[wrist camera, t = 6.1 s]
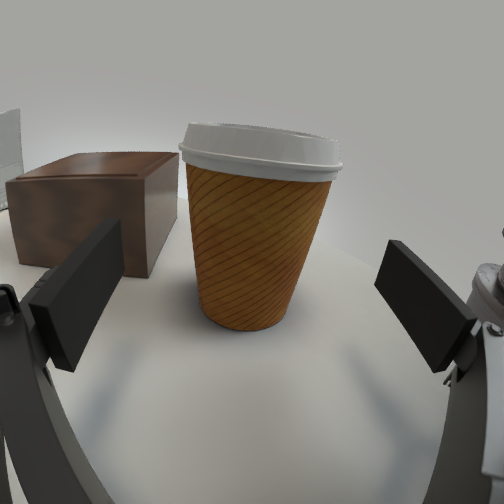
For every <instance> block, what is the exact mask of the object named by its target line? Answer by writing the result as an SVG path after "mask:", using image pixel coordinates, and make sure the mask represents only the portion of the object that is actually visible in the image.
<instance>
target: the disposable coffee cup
mask: <svg viewBox="0 0 504 504" xmlns="http://www.w3.org/2000/svg"><path fill="white" fill-rule="evenodd" d="M179 149H180V150H181V151H182V160H183V161H184V162H186V173H187V189H188V201H189V213H190V222H191V232H192V242H193V251H194V260H195V268H196V276H197V284H198V292H199V300H200V306H201V309H202V310H203V312H204V313H205V314H206V315H207V316H208V317H209V318H210V319H211V320H213V321H214V322H216V323H218V324H220V325H222V326H225V327H228V328H231V329H236V330H246V331H251V330H259V329H265V328H267V327H270V326H273V325H274V324H276V323H278V322H279V321H280V320H281V319H282V318H283V316H284V315H285V312H286V309H287V307H288V304H289V302H290V299H291V296H292V294H293V291H294V289H295V286H296V284H297V281H298V278H299V276H300V273H301V270H302V268H303V265H304V262H305V260H306V256H307V254H308V251H309V248H310V245H311V243H312V240H313V237H314V234H315V231H316V228H317V226H318V223H319V219H320V216H321V214H322V211H323V208H324V205H325V202H326V199H327V196H328V193H329V189H330V186H331V183H332V180H335V179H336V177H337V173H338V170H341V169H342V168H343V166H344V164H343V163H342V162H340V155H339V141H336V140H333V139H330V138H325V137H321V136H316V135H311V134H306V133H300V132H294V131H288V130H282V129H275V128H267V127H259V126H249V125H238V124H224V123H189V125H188V128H187V131H186V134H185V138H184V141H183V142H182V143H180V144H179Z"/></svg>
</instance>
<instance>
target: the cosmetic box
mask: <svg viewBox="0 0 504 504" xmlns="http://www.w3.org/2000/svg"><path fill="white" fill-rule="evenodd" d="M22 174H24V169H23V160H22V148H21V133H20V109H13V110H9V111H6V112H2V113H0V210H2V209H5V208H7V207H8V203H7V196H6V188H5V182H7V181H9V180H11V179H13V178H15V177H18V176H20V175H22Z"/></svg>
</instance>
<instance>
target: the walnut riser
mask: <svg viewBox="0 0 504 504" xmlns="http://www.w3.org/2000/svg"><path fill="white" fill-rule="evenodd" d="M178 168H179V153H171V152H96V153H78V154H74V155H71V156H68V157H66V158H62V159H60V160H57V161H54V162H52V163H49V164H46V165H44V166H41V167H39V168H37V169H34V170H32V171H30V172H27V173H25V174H22V175H20V176H18V177H15V178H13V179H11V180H9V181H7V182H5V188H6V196H7V203H8V210H9V216H10V222H11V227H12V232H13V237H14V242H15V246H16V251H17V255H18V259H19V263H20V264H26V265H34V266H41V267H49V268H53V267H54V266H60V265H61V263H62V262H63V261H64V260H65V259H66V258H67V257H68V256H69V255H70V254H71V253H72V251H73V250H74V249H75V248H76V247H77V246H78V245H79V244H80V243H81V242H82V241H83V240H84V239H85V238H86V237H87V236H88V235H89V234H90V233H91V232H92V231H93V230H94V229H95V228H96V227H97V226H98V225H99V224H100V223H101V222H102V221H103V220H104V219H105V218H120V219H121V234H122V245H123V256H124V265H125V272H124V274H123V275H122V276H131V277H142V278H148V277H149V275H150V273H151V271H152V268H153V266H154V264H155V262H156V260H157V257H158V255H159V253H160V251H161V249H162V247H163V245H164V243H165V240H166V238H167V236H168V234H169V232H170V230H171V228H172V226H173V224H174V222H175V220H176V218H177V192H178V190H177V189H178Z"/></svg>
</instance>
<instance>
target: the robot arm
mask: <svg viewBox="0 0 504 504" xmlns="http://www.w3.org/2000/svg"><path fill="white" fill-rule="evenodd" d="M502 233H503V236H504V229H503V231H502ZM124 272H125V265H124V256H123V245H122V234H121V219H120V218H105V219H104V220H103V221H102V222H101V223H100V224H99V225H98V226H97V227H96V228H95V229H94V230H93V231H92V232H91V233H90V234H89V235H88V236H87V237H86V238H85V239H84V240H83V241H82V242H81V243H80V244H79V245H78V246H77V247H76V248H75V249H74V250H73V251H72V253H71V254H70V255H69V256H68V257H67V258H66V259H65V260H64V261H63V262H62V263H61V265H60V266H54V267H53V268H51V269H50V270H48V271H46V272H45V273H44V274H43V276H42V277H41V278H40V279H39V281H37V282H36V283H35V285H34V287H32V288H31V289H30V291H29V292H28V293H27V294H26V295H25V296H24V298H23V299H22V300H21V301H20V303H19V302H18V300H17V297H16V294H15V291H14V288H13V287H12V286H11V285H9V284H0V504H13V502H12V497H11V492H10V487H9V481H8V474H7V466H6V457H5V446H4V436H5V440H6V444H7V447H8V451H9V454H10V457H11V460H12V463H13V466H14V469H15V472H16V474H17V477H18V480H19V482H20V485H21V487H22V490H23V492H24V494H25V497H26V499H27V501H28V503H29V504H115V503H114V502H113V501H112V499H111V498H110V496H109V495H108V493H107V492H106V490H105V489H104V487H103V485H102V484H101V482H100V481H99V479H98V477H97V476H96V474H95V472H94V471H93V469H92V467H91V465H90V464H89V462H88V460H87V458H86V456H85V454H84V453H83V451H82V449H81V447H80V445H79V443H78V441H77V439H76V437H75V435H74V433H73V430H72V428H71V426H70V424H69V422H68V419H67V417H66V415H65V412H64V410H63V408H62V405H61V403H60V400H59V397H58V395H57V392H56V389H55V387H54V384H53V381H52V378H51V375H50V372H49V370H48V368H47V366H46V363H47V361H48V359H49V357H51V359H52V361H53V364H54V366H55V368H57V369H61V370H65V371H69V372H73V373H74V371H75V369H76V367H77V364H78V362H79V360H80V358H81V355H82V353H83V351H84V349H85V347H86V345H87V343H88V340H89V338H90V336H91V334H92V332H93V330H94V328H95V326H96V324H97V322H98V320H99V318H100V316H101V314H102V312H103V310H104V308H105V307H106V305H107V303H108V301H109V299H110V297H111V295H112V293H113V292H114V290H115V288H116V286H117V284H118V283H119V281H120V279H121V277H122V275H123V274H124ZM497 282H498V284H499V286H500V288H501V289H502V291H503V292H504V264H503V266H502V268H501V269H500V271H499V274H498V276H497ZM374 286H375V287H376V288H377V290H378V291H379V292H380V294H381V295H382V297H383V298H384V299H385V301H386V302H387V304H388V305H389V306H390V308H391V309H392V311H393V312H394V314H395V315H396V316H397V318H398V319H399V321H400V322H401V324H402V325H403V327H404V328H405V330H406V331H407V333H408V334H409V336H410V337H411V339H412V340H413V342H414V343H415V345H416V346H417V348H418V349H419V351H420V353H421V354H422V356H423V357H424V359H425V360H426V362H427V364H428V365H429V367H430V368H431V370H432V372H433V373H437V372H441V371H445V370H446V369H447V368H448V366H449V365H450V363H451V362H452V360H454V361H455V363H456V366H455V367H454V369H453V370H452V371H451V373H450V374H449V375H448V377H447V378H446V380H445V381H444V383H443V384H444V385H445V384H446V383H447V382H448V381H449V380H451V382H450V384H449V385H448V386H449V387H450V395H449V402H448V409H447V415H446V421H445V426H444V431H443V436H442V440H441V445H440V449H439V453H438V457H437V461H436V464H435V468H434V471H433V475H432V478H431V481H430V484H429V487H428V490H427V493H426V496H425V499H424V501H423V504H504V333H503V331H502V330H501V329H500V328H499V327H498V326H497V325H495V324H494V323H492V322H489V321H485V322H483V323H481V322H480V321H479V320H478V317H477V316H476V315H475V314H474V313H473V312H472V310H471V309H470V308H469V307H468V306H467V305H466V304H465V303H464V302H463V301H462V300H461V299H460V298H459V297H458V296H457V295H456V293H455V292H454V291H453V290H452V289H451V288H450V287H449V286H448V285H447V284H446V283H445V282H444V281H443V280H442V279H441V278H440V277H439V276H438V275H437V274H436V273H434V271H433V270H432V269H430V268H429V267H428V266H427V265H426V264H425V263H424V262H423V261H422V260H421V259H420V258H419V257H418V256H417V255H416V254H414V253H413V252H412V251H411V250H410V249H409V248H408V247H407V246H406V245H404V244H403V243H402V242H401V241H398V240H389V242H388V245H387V248H386V251H385V254H384V257H383V261H382V264H381V266H380V269H379V272H378V275H377V278H376V281H375V284H374Z"/></svg>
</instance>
